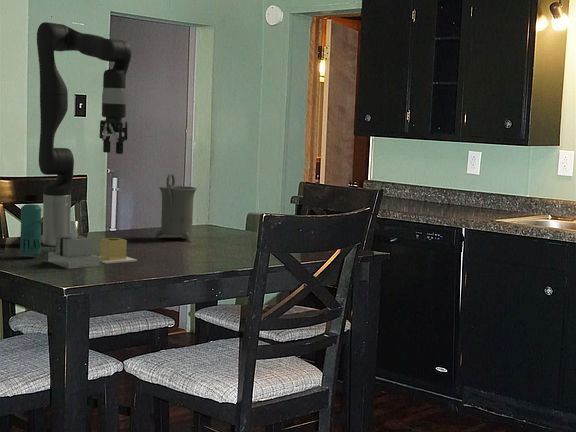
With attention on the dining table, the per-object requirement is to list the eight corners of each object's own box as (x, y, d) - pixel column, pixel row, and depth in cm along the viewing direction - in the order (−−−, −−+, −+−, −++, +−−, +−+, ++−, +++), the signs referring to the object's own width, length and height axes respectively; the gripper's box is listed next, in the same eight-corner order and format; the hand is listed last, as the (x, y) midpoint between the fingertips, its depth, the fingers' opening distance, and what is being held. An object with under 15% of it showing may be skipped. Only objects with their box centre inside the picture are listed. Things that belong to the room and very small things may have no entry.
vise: (48, 261, 283) (48, 219, 281) (78, 259, 289) (78, 218, 287) (68, 268, 272) (69, 224, 270) (99, 266, 278) (100, 223, 277)
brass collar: (99, 257, 291) (100, 238, 291) (116, 256, 295) (117, 237, 294) (109, 260, 287) (109, 241, 286) (126, 259, 291) (126, 240, 290)
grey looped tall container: (166, 235, 355) (168, 170, 352) (202, 238, 351) (205, 172, 348) (146, 241, 337) (148, 172, 334) (184, 244, 333) (186, 175, 330)
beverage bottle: (19, 259, 285) (20, 194, 283) (19, 255, 291) (20, 192, 289) (41, 259, 287) (42, 195, 285) (41, 255, 293) (41, 193, 291)
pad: (89, 258, 292) (89, 256, 292) (120, 256, 299) (120, 254, 299) (105, 263, 283) (105, 262, 283) (137, 261, 290) (137, 259, 290)
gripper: (135, 103, 293) (134, 154, 295) (113, 102, 304) (112, 152, 306) (114, 102, 288) (113, 154, 290) (93, 101, 299) (92, 151, 301)
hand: (112, 153), depth 298 cm, fingers open, 8 cm apart
